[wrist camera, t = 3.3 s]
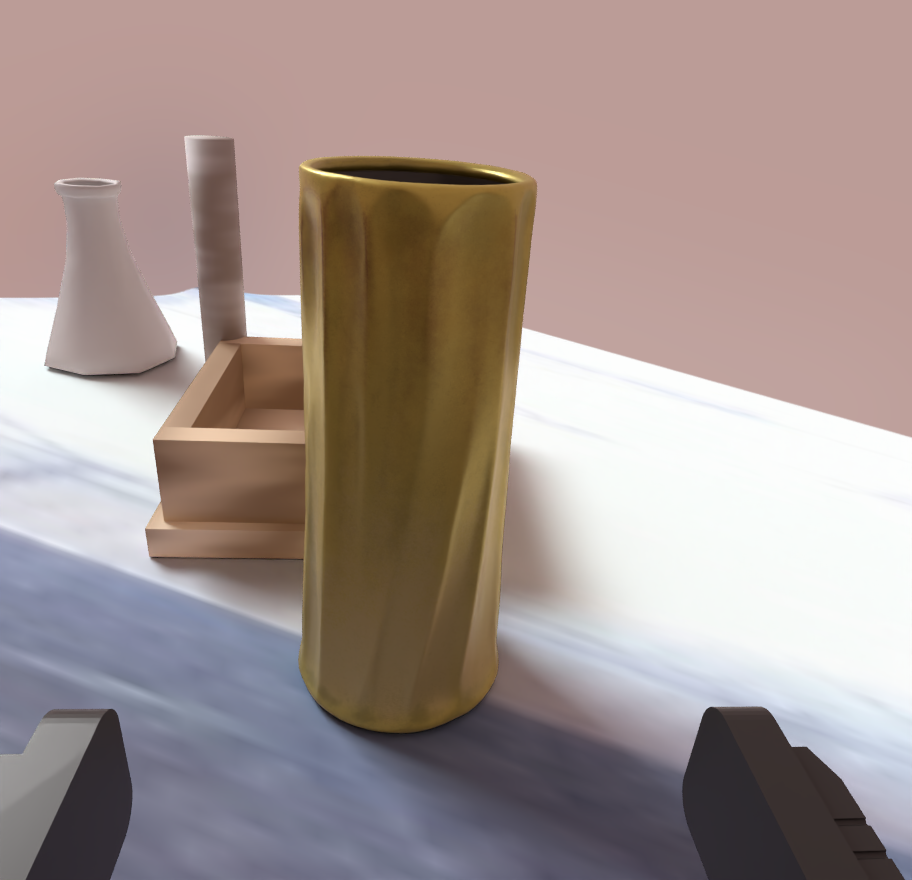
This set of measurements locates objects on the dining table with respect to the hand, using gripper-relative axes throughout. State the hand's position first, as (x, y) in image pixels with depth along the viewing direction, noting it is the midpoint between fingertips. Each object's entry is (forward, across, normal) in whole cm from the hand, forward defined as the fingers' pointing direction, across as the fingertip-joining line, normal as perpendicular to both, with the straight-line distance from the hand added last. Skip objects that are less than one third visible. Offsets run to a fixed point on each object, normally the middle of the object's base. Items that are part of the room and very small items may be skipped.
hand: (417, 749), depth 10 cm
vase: (+10, 0, +8) cm, 13 cm away
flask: (+35, +17, +8) cm, 40 cm away
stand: (+21, +3, +8) cm, 22 cm away
